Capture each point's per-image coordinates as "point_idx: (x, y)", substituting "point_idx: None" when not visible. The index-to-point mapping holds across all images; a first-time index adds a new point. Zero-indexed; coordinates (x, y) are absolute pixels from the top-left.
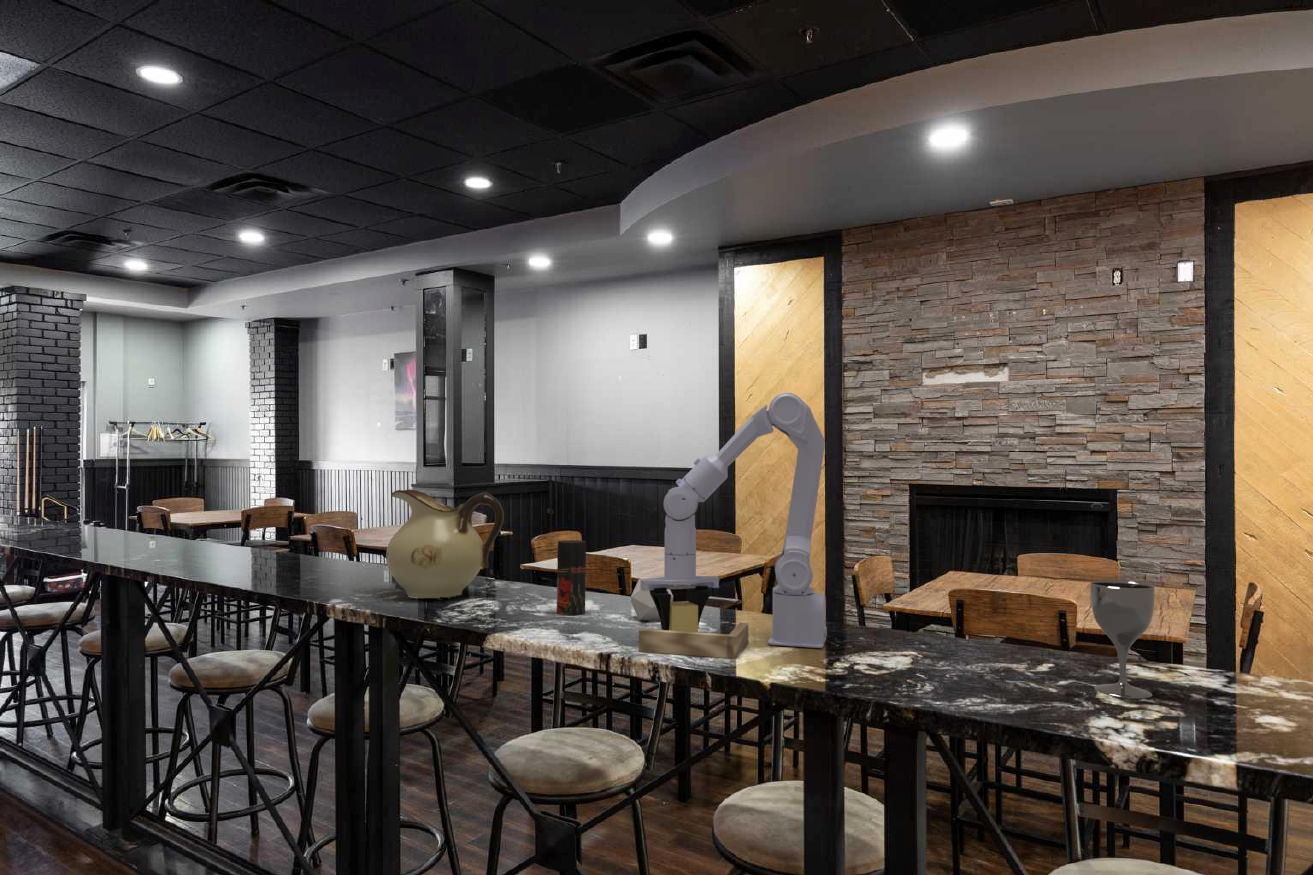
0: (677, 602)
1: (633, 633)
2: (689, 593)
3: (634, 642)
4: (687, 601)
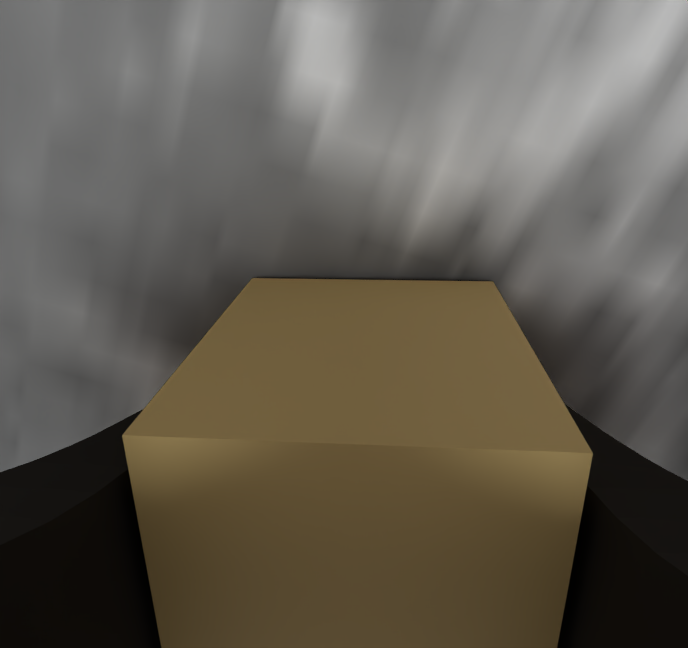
0: (362, 509)
1: (31, 53)
2: (666, 605)
3: (12, 394)
4: (568, 480)
